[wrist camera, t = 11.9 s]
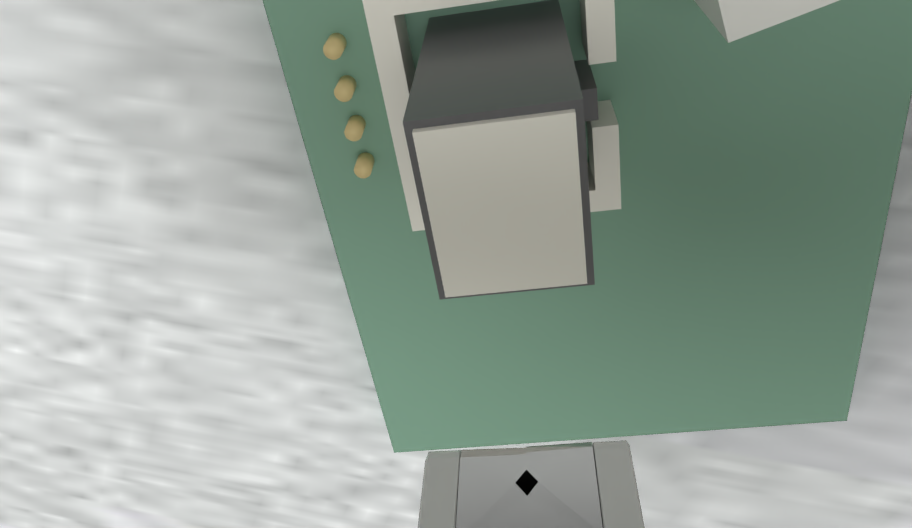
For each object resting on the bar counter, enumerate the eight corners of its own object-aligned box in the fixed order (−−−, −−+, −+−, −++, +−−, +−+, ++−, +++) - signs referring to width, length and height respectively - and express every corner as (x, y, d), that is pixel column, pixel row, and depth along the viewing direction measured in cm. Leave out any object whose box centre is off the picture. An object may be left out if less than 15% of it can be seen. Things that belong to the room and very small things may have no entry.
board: (972, -341, 19) (1050, -357, 16) (836, 400, 33) (865, 456, 30) (218, -201, 21) (178, -194, 19) (397, 433, 36) (389, 487, 33)
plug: (584, -5, 23) (622, 97, 16) (592, 144, 25) (627, 286, 19) (429, 17, 23) (401, 125, 16) (454, 161, 26) (438, 304, 19)
